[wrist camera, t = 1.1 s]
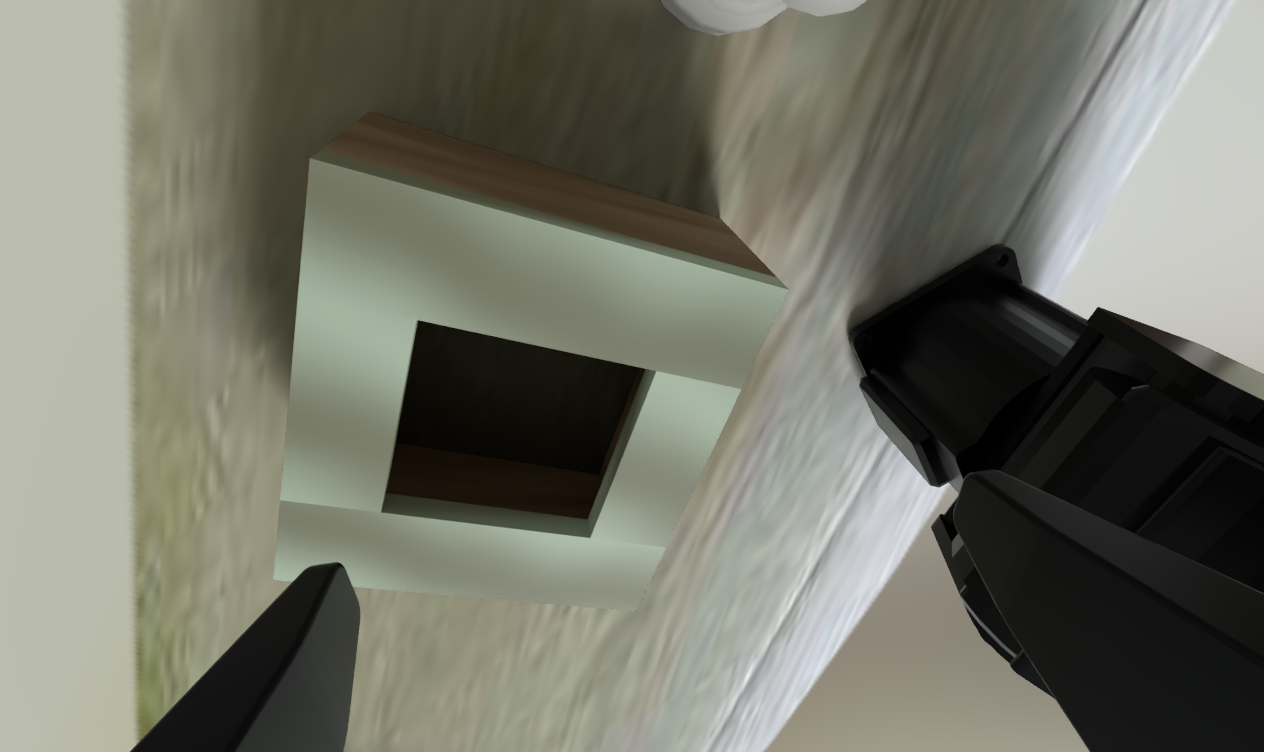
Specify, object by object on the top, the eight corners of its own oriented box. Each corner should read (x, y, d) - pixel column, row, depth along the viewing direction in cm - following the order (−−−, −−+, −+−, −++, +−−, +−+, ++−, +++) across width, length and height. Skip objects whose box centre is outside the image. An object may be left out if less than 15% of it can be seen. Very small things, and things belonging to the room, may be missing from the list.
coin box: (368, 112, 17) (309, 158, 12) (720, 218, 21) (788, 289, 16) (326, 450, 23) (273, 579, 18) (611, 492, 26) (635, 611, 21)
